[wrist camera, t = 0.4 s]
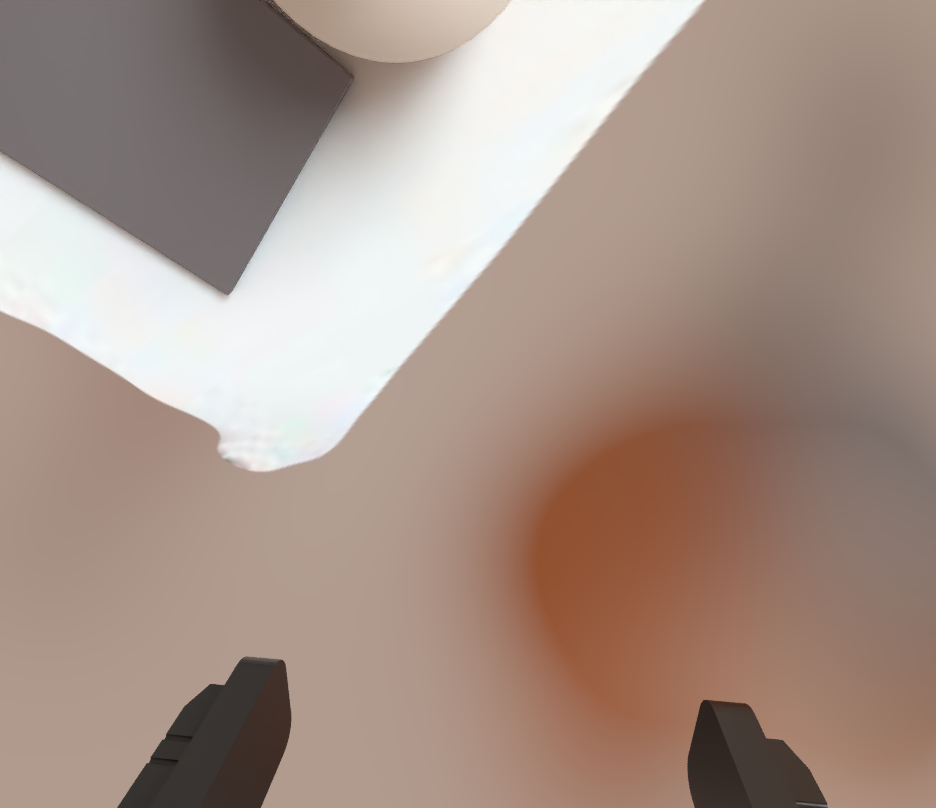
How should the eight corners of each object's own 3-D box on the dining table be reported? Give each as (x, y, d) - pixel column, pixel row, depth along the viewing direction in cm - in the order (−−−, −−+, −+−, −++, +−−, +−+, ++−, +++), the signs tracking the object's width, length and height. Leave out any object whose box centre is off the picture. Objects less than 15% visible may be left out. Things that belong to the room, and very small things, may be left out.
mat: (-59, 103, 31) (-71, 105, 30) (-1, -226, 23) (-15, -233, 23) (232, 290, 37) (228, 295, 36) (354, 77, 29) (351, 78, 29)
